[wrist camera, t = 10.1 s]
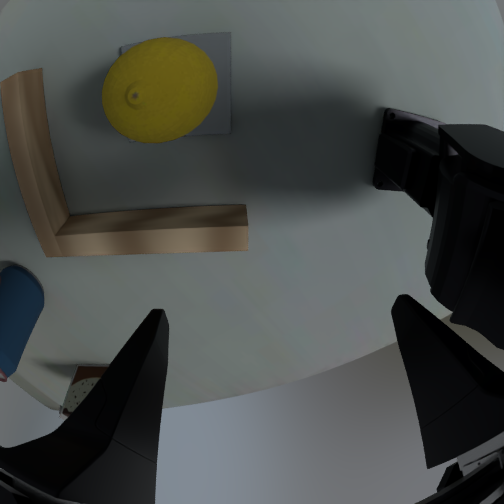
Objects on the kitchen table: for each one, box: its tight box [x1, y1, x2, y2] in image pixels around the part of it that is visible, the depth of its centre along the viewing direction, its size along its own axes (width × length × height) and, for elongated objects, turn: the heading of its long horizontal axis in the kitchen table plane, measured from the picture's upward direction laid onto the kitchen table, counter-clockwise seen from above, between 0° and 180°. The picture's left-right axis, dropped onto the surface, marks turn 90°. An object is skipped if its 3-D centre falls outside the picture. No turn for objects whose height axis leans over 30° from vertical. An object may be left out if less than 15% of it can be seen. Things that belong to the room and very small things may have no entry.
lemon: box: [102, 37, 218, 143], centre depth 11 cm, size 6×6×8 cm
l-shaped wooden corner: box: [0, 68, 248, 257], centre depth 15 cm, size 17×15×3 cm
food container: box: [59, 364, 109, 420], centre depth 32 cm, size 12×6×10 cm, turn 100°
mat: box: [121, 32, 231, 142], centre depth 14 cm, size 7×7×1 cm
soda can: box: [0, 265, 44, 382], centre depth 19 cm, size 7×7×12 cm
